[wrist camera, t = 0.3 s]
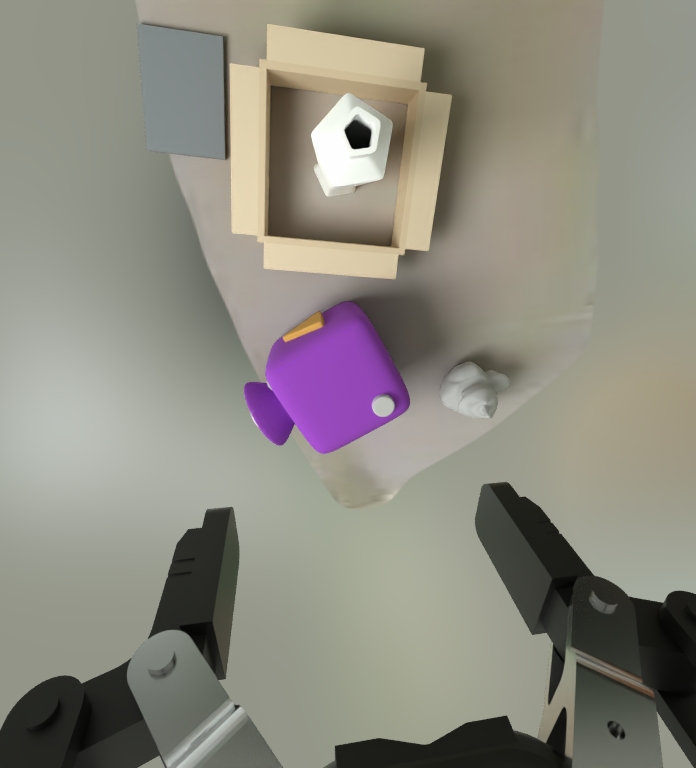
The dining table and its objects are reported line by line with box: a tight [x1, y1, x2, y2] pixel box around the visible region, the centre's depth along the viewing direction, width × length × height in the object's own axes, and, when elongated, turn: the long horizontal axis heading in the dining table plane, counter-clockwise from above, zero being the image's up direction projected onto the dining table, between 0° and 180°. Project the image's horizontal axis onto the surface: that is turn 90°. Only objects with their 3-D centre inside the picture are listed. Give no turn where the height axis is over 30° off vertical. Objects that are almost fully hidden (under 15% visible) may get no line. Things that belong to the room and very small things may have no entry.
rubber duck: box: [440, 361, 509, 419], centre depth 38 cm, size 5×7×8 cm
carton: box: [230, 24, 452, 279], centre depth 32 cm, size 16×16×4 cm
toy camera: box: [244, 301, 410, 454], centre depth 35 cm, size 11×14×10 cm
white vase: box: [311, 93, 393, 197], centre depth 27 cm, size 5×4×15 cm
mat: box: [137, 24, 226, 160], centre depth 31 cm, size 8×6×1 cm
